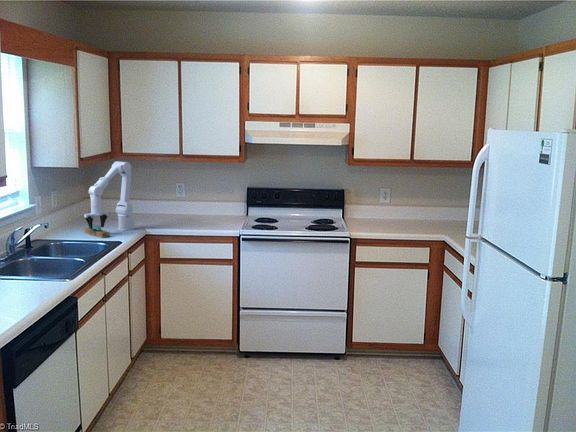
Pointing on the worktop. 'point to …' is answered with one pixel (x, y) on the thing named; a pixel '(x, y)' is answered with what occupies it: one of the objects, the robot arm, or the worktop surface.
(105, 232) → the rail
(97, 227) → the clip
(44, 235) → the worktop surface
